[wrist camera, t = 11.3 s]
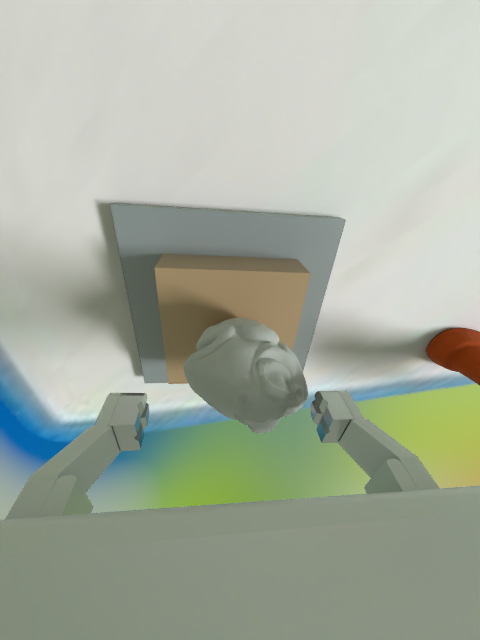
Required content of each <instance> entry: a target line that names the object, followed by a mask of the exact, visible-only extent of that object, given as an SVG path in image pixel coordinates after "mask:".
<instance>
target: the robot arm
mask: <svg viewBox="0 0 480 640" xmlns="http://www.w3.org/2000/svg"><path fill="white" fill-rule="evenodd" d="M315 398H316V399H315V400H314V401H313V402H312V404H311V416H312V419H313V421H314V422H315V423H316V424H317V425H318V426H317V432H318V435H319V437H320V440H321V442H322V443H330V442H331V443H333V442H334V443H336V442H339V443H338V444H339V445H340V446H341V447H342V448H343V449H344V450H345V451H346V452H347V453H348V454H349V455H350V456H351V457H352V459H353V460H354V461H355V462H356V463H357V464H358V465H359V466H360V467H361V468H362V469H363V470H364V471H365V472H366V473H367V474H368V475H369V476H370V478H371V479H370V480H369V482H368V483H367V484H366V485H365V490H366V493H367V494H357V495H342V496H328V497H315V498H301V499H287V500H272V501H259V502H244V503H230V504H217V505H202V506H188V507H174V508H160V509H147V510H133V511H118V512H104V513H91V512H92V509H93V505H92V503H91V502H90V500H89V499H88V496H87V495H86V492H87V491H88V489H89V488H90V487H91V486H92V485H93V484H94V482H95V481H96V480H97V479H98V478H99V476H100V475H101V474H102V473H103V472H104V471H105V469H106V468H107V467H108V466H109V465H110V463H111V462H112V461H113V460H114V459H115V458H116V457H117V455H118V454H119V453H120V451H130V450H141V446H142V443H143V439H144V430H143V429H144V428H145V427H146V426H147V423H148V418H149V405H148V404H147V403H146V401H147V394H146V393H110V394H109V395H108V396H107V398H106V401H105V403H104V405H103V407H102V409H101V412H100V414H99V416H98V418H97V420H96V422H95V425H94V427H89V428H88V429H87V430H85V431H84V432H83V433H82V434H81V435H79V436H78V437H77V438H76V439H75V440H73V441H72V442H71V443H70V444H69V445H67V446H66V447H65V448H64V449H63V450H61V451H60V452H59V453H58V454H56V456H54V457H53V458H52V459H50V460H49V461H48V462H47V463H46V464H44V465H43V466H42V467H41V468H39V469H38V470H37V471H36V472H35V473H34V474H32V475H31V476H30V478H29V479H28V481H27V483H26V484H25V486H24V488H23V490H22V491H21V493H20V495H19V496H18V498H17V500H16V501H15V503H14V505H13V506H12V508H11V510H10V512H9V513H8V515H7V517H6V518H5V520H0V640H480V486H470V487H455V488H441V489H440V488H439V487H438V485H437V484H436V483H435V481H434V480H433V478H432V477H431V475H430V474H429V473H428V471H427V470H426V468H425V467H424V465H423V464H422V462H421V461H420V460H419V458H418V457H417V456H416V455H415V454H413V453H412V452H411V451H409V450H408V449H407V448H405V447H404V446H402V445H401V444H400V443H399V442H397V441H396V440H395V439H393V438H392V437H390V436H389V435H388V434H387V433H385V432H384V431H382V430H381V429H380V428H379V427H377V426H376V425H374V424H373V423H372V422H371V421H369V420H367V419H364V417H363V415H362V414H361V412H360V410H359V409H358V407H357V405H356V404H355V402H354V400H353V399H352V397H351V395H350V394H349V392H348V391H318V392H316V394H315Z"/></svg>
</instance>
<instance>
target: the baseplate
mask: <svg viewBox="0 0 480 640" xmlns="http://www.w3.org/2000/svg"><path fill="white" fill-rule="evenodd" d="M110 207H111V212H112V217H113V222H114V227H115V232H116V238H117V243H118V248H119V253H120V258H121V263H122V268H123V274H124V279H125V284H126V289H127V294H128V299H129V304H130V309H131V315H132V320H133V325H134V330H135V335H136V340H137V345H138V351H139V356H140V361H141V366H142V371H143V376H144V381H145V383H168V384H183V383H188V381H187V379H186V377H185V373H184V367H183V365H184V363H185V361H186V360H187V359H188V358H189V357H190V356H191V355H192V354H193V353H195V352H197V349H196V345H197V343H198V341H199V339H200V337H201V336H202V334H203V332H204V331H205V330H206V329H207V328H208V327H210V326H213V325H217V324H219V323H221V322H223V321H225V320H228V319H232V318H246V319H250V320H254V321H258V322H259V323H260V324H263V325H266V327H268V328H270V329H272V330H273V331H274V332H275V333H276V334H277V335H278V337H279V343H285V344H286V345H287V346H288V348H290V349H291V350H292V351H293V353H294V354H295V355H296V357H297V359H298V361H299V363H300V366H301V369H302V372H303V369H304V366H305V362H306V359H307V355H308V352H309V348H310V345H311V341H312V338H313V334H314V331H315V327H316V324H317V320H318V316H319V313H320V309H321V306H322V302H323V299H324V295H325V292H326V288H327V285H328V281H329V278H330V274H331V270H332V267H333V263H334V260H335V256H336V253H337V249H338V246H339V242H340V239H341V235H342V232H343V228H344V225H345V221H346V220H345V219H342V218H339V217H324V216H308V215H293V214H277V213H262V212H246V211H231V210H216V209H200V208H185V207H169V206H154V205H138V204H123V203H114V204H111V205H110Z"/></svg>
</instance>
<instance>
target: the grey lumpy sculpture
mask: <svg viewBox="0 0 480 640" xmlns="http://www.w3.org/2000/svg"><path fill="white" fill-rule="evenodd" d="M196 349H197V352H195V353H193V354H192V355H191V356H190V357H189V358H188V359H187V360H186V361H185V363H184V365H183V367H184V373H185V377H186V379H187V381H188V383H189V385H190V387H191V388H192V389H193V391H194V392H195V393H197V394H198V395H199V396H200V397H201V398H203V400H205V401H206V402H207V403H208V404H209V405H211V406H212V407H214V409H216V410H217V411H218V412H220V413H221V414H223V415H225V416H227V417H229V418H232V419H235V420H238V421H240V422H241V423H243V424H245V425H248V427H249V428H250V429H251V430H252V432H255V433H267V432H269V431H271V430H272V429H273V428H274V427H275V426H276V425H277V423H278V421H279V420H280V418H281V417H282V416H284V417H287V416H289V415H291V414H293V413H294V412H296V411H297V410H299V409H301V408H302V407H303V405H304V404H305V403H306V400H307V396H308V390H307V385H306V381H305V378H304V375H303V372H302V369H301V366H300V363H299V361H298V359H297V357H296V355H295V354H294V353H293V351H292V350H291V349H290V348H288V346H287V345H286V344H285V343H279V337H278V335H277V334H276V333H275V332H274V331H273V330H272V329H270V328H268V327H266V325H263V324H260V323H259V322H258V321H254V320H250V319H246V318H232V319H228V320H225V321H223V322H221V323H219V324H217V325H213V326H210V327H208V328H207V329H206V330H205V331H204V332H203V334H202V336H201V337H200V339H199V341H198V343H197V345H196Z"/></svg>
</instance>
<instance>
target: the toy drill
mask: <svg viewBox="0 0 480 640" xmlns="http://www.w3.org/2000/svg"><path fill="white" fill-rule="evenodd" d="M427 355H428V356H429V357H430V358H431V359H432V361H433V362H434V363H436V364H438V365H440V366H442V367H444V368H446V369H449V370H452V371H456V372H460V373H461V374H463V375H465V376H466V377H468V378H469V379H471V380H473V381H474V382H475V383H477V384H478V385H480V332H479V331H476V330H472V329H466V328H454V329H449V330H446V331H444V332H442V333H440V334H439V335H437V336H436V337H435V338H434V339H433V340H432V341H431V342H430V344H429V345H428V347H427Z"/></svg>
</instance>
